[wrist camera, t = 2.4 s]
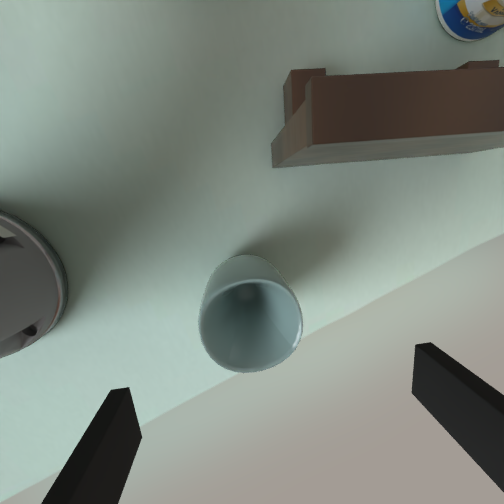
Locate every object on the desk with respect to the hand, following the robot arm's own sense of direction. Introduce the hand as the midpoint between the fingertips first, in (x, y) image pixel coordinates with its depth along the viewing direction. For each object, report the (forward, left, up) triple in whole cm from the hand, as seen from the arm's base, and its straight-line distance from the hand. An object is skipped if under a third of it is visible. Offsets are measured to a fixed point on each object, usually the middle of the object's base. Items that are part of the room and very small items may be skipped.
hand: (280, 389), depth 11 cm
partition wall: (+14, +15, -16) cm, 26 cm away
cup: (-1, -1, -17) cm, 17 cm away
